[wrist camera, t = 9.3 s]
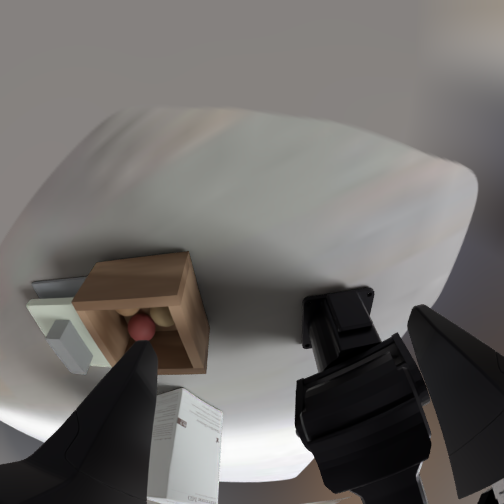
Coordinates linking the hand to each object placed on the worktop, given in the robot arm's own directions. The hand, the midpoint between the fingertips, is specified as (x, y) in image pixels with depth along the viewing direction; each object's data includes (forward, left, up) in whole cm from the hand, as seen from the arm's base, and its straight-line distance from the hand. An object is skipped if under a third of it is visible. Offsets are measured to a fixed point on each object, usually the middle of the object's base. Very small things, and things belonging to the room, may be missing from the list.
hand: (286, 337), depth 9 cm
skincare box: (-26, +12, -12) cm, 31 cm away
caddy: (-7, +9, -12) cm, 17 cm away
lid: (-10, +19, -11) cm, 24 cm away
